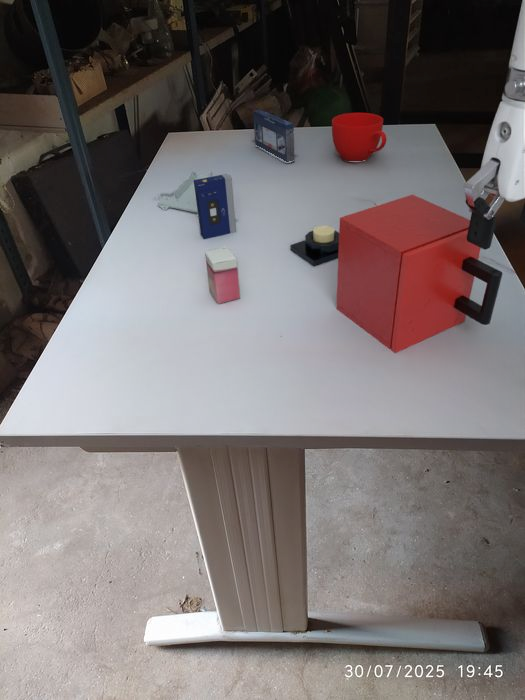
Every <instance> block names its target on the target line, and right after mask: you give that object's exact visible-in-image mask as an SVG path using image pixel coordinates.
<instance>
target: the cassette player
mask: <svg viewBox="0 0 525 700" xmlns="http://www.w3.org/2000/svg"><path fill="white" fill-rule="evenodd" d="M194 187H195V195H196V203H197V210H198V213H197V214H198V217H197V218H198V225H199V232H200V236H201V238H202V239H203V240H208V239H212V238H216V237H221V236H225V235H230V234H234V233H237V224H236V212H235V211H236V210H235V201H234V199H235V198H234V188H233V177H232V175H231V174H228V173H224V174H219V175H213V177H208V178H202V179H197V180H194Z"/></svg>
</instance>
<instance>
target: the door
mask: <svg viewBox="0 0 525 700" xmlns="http://www.w3.org/2000/svg"><path fill="white" fill-rule="evenodd" d="M467 234H468V230H466V231H463V232H460V233H458V234H455V235H452V236H449V237H447V238H444V239H441V240H439V241H436V242H433V243H431V244H428V245H425V246H423V247H420V248H417V249H414V250H412V251H409V252H406V253H404V254H403V255H402V263H401V271H400V279H399V288H398V296H397V304H396V313H395V321H394V329H393V338H392V346H391V349H390V350H391V351H392V352H393V353H394V354H397V353H399V352H401V351H403V350H405V349H407V348H409V347H412V346H415V345H416V344H418V343H421V342H422V341H425V340H427V339H430V338H431V337H434V336H436V335H438V334H440V333H442V332H445V331H447V330H449V329H451V328H453V327H455V326H458V325H460V324H462V323H464V322H466V317H469V318H470V319H472V320H474V321H475V322H477V323H479V324H480V325H483V326H488V325H490V324H491V320H492V317H493V313H494V309H495V305H496V301H497V297H498V293H499V289H500V286H501V281H502V278H503V272H502V271H501V270H499V269H497V268H495V267H493V266H491V265H489V264H487V263H485V262H483V261H481V260H479V258H480V253H481V249H482V248H480V247H478V246H476V245H474V244H472V243H470V242H468V241H467ZM475 278H477V279H479V280H480V281H481V282H483V283H486V286H485V291H484V295H483V299H482V303H481V304H479V303H477V302H476V301H474V300H472V299H470V298H471V294H472V289H473V285H474V280H475Z"/></svg>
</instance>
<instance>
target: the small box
mask: <svg viewBox="0 0 525 700" xmlns="http://www.w3.org/2000/svg"><path fill="white" fill-rule="evenodd" d="M204 256H205V257H204V259H205V264H206V273H207V282H208V289H209V292H210V294H211V296H212V298H213V300H214V302H215V303H216V304H217V305H219V304H220V305H221V304H223V303H228V302H233V301H235V300H239V299H241V289H240V278H239V277H240V276H239V265H238V264H239V263H238V258H237V256H236V254H235V253H234V252H233V251H232V249H231V248H230V246H228V245H226V246H222V247H216V248H212V249H208V250H204Z"/></svg>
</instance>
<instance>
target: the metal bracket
mask: <svg viewBox="0 0 525 700" xmlns="http://www.w3.org/2000/svg"><path fill="white" fill-rule="evenodd" d="M213 176H214V175H213V171H209V172H208V174H207V175H204V174H197V172H196V171H193V170H192V171H191V172H190V174H189V176H188V177H187V178H186V180H183V181H182V182H181V184H179V186H178V187H177V188H176V189H175V190H174V193H173V195H172V196H167V195H166V196H165V195H163V196H162V197H161V199H160V200H159V201H158V202H157V207H159V208H160V209H161V210H163V211H167V210H168V209H169V208H172V209H177V210H180V211H186V212H190V213H196V215H195V216H196V218H198V210H197V203H196V195H195V187H194V180H197V179H202V178H208V177H213Z"/></svg>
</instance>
